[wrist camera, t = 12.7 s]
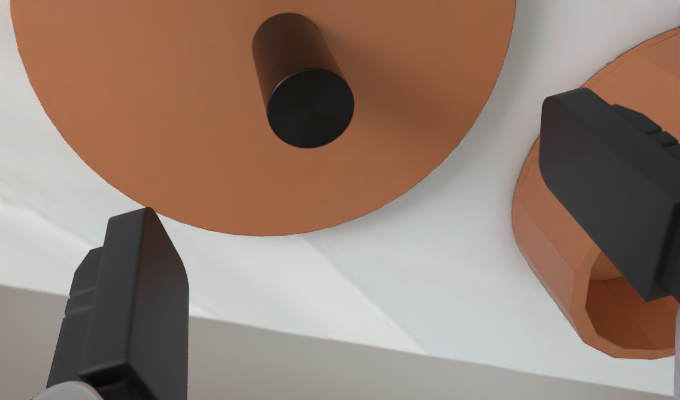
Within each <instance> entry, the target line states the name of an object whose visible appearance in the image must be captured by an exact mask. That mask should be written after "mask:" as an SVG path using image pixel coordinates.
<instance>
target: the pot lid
mask: <svg viewBox="0 0 680 400" xmlns="http://www.w3.org/2000/svg"><path fill="white" fill-rule="evenodd" d="M515 8H516V0H10V12H11V19H12V23H13V28H14V32H15V37H16V42H17V46H18V51H19V54H20V56H21V59H22V62H23V64H24V67H25V70H26V73H27V75H28V78H29V81H30V84H31V86H32V87H33V89H34V91H35V93H36V95H37V97H38V99H39V101H40V103H41V105H42V106H43V108H44V110H45V112H46V114H47V115H48V117H49V118H50V120H51V121H52V123H53V124H54V125H55V127H56V128H57V130H58V131H59V133H60V134H61V135H62V137H63V138H64V140H65V141H66V142H67V143H68V144H69V145H70V147H71V148H72V149H73V150H74V151H75V152H76V153H77V154H78V155H79V156H80V158H81V159H82V160H83V161H84V162H85V163H86V164H87V165H88V166H89V167H90V168H92V169H93V170H94V171H95V172H96V173H97V174H98V175H100V176H101V177H102V178H103V179H104V180H105V181H106V182H108V183H109V184H110V185H112V186H113V187H115V188H116V189H118V190H119V191H120V192H122V193H123V194H125V195H126V196H128V197H129V198H131V199H132V200H134V201H136V202H138V203H140V204H141V205H143V206H145V207H151V208H152V209H153V210H154V211H155V212H156V213H159V214H161V215H164V216H166V217H169V218H171V219H174V220H176V221H179V222H181V223H184V224H188V225H191V226H195V227H198V228H202V229H206V230H210V231H215V232H221V233H227V234H233V235H246V236H285V235H292V234H300V233H307V232H313V231H317V230H321V229H325V228H329V227H333V226H337V225H339V224H342V223H345V222H348V221H351V220H354V219H357V218H359V217H361V216H364V215H366V214H368V213H370V212H372V211H374V210H377V209H379V208H381V207H382V206H384V205H386V204H388V203H389V202H391V201H393V200H394V199H396V198H398V197H399V196H401V195H403V194H404V193H405V192H407V191H408V190H410V189H411V188H412V187H414V186H415V185H416V184H418V183H419V182H421V181H422V180H423V179H424V178H425V177H426V176H428V175H429V174H430V173H431V172H432V171H433V170H434V169H435V168H436V167H438V166H439V165H440V164H441V163H442V162H443V161H444V160H445V159H446V158H447V156H448V155H449V154H450V153H451V152H452V151H453V150H454V149H455V148H456V146H457V145H458V144H459V143H460V142H461V140H462V139H463V138H464V136H465V135H466V134H467V132H468V131H469V130H470V128H471V127H472V125H473V124H474V123H475V121H476V119H477V118H478V116H479V114H480V113H481V111H482V109H483V107H484V106H485V104H486V102H487V101H488V99H489V97H490V95H491V92H492V90H493V88H494V86H495V83H496V81H497V79H498V77H499V74H500V72H501V69H502V66H503V63H504V59H505V56H506V53H507V50H508V47H509V43H510V38H511V33H512V28H513V23H514V18H515Z"/></svg>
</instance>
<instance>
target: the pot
mask: <svg viewBox="0 0 680 400" xmlns="http://www.w3.org/2000/svg"><path fill="white" fill-rule="evenodd" d="M582 87H586V88H589V89H590V90H592V91H593V92H594V93H596V94H597V95H598V96H599V97H601V98H602V99H603V100H605V101H606V102H607V103H608V104H610V105H614V104H618V105H621V106H624V107H626V108H629V109H632V110H635V111H637V112H640V113H643V114H644V115H645V116H647V117H648V118H649V119H651V120H652V121H653V122H655V123H656V124H657V125H659V126H660V127H662V130H663V132H664V131H667V132H668V133H670V134H671V135H672V136H674V137H675V138H676V139H678V142H679V144H680V27H678V28H675V29H672V30H669V31H666V32H664V33H662V34H660V35H658V36H656V37H654V38H651V39H649V40H647V41H645V42H643V43H641V44H640V45H638V46H636V47H635V48H633V49H631V50H630V51H628V52H626V53H624V54H623V55H621V56H620V57H618V58H617V59H616V60H614V61H613V62H611V63H610V64H609V65H607V66H606V67H604V68H603V69H602V70H600V71H599V72H598V73H597V74H596V75H594V76H593V77H592V78H591V79H590V80H589V81H588V82H586V83H585V84H584V85H583V86H582ZM582 87H581V88H582ZM539 145H540V136H539V138H538V140H537V141H536V143H535V144H534V146H533V148H532V150H531V152H530V154H529V155H528V157H527V159H526V161H525V163H524V166H523V168H522V171H521V173H520V176H519V179H518V181H517V185H516V189H515V193H514V197H513V206H512V226H513V232H514V236H515V240H516V243H517V245H518V247H519V249H520V251H521V253H522V255H523V256H524V257H525V259H526V261H527V262H528V264H529V266H530V268H531V270H532V271H533V273H534V274H535V275H536V277H537V278H538V280H539V281H540V282H541V284H542V285H543V287H544V288H545V289H546V291H547V292H548V294H549V295H550V296H551V298H552V299H553V301H554V302H555V303H556V305H557V306H558V307H559V309H560V310H561V312H562V313H563V314H564V316H565V317H566V319H567V320H568V321H569V323H570V324H571V326H572V327H573V328H574V330H575V331H576V333H577V334H578V335H579V337H580V338H581V340H582V341H583V342H584V343H585V344H587V345H589V346H591V347H593V348H595V349H597V350H599V351H601V352H603V353H605V354H607V355H609V356H611V357H614V358H626V359H648V360H653V359H659V358H664V357H668V356H673V355H675V330H676V312H677V309H678V306H679V303H678V302H677V301H676V300H675V298H674V297H673V296H672V295H670V296H666V297H663V298H660V299H656V300H653V301H650V302H645V301H644V299H643V298H642V297H641V296H640V295H639V294H638V292H637V291H636V290H635V289H634V288H633V287H632V285H631V284H630V283H629V282H628V281H627V280H626V278H625V277H624V276H623V275H622V274H621V273H620V272H619V270H618V269H617V268H616V267H615V266H614V265H613V263H612V262H611V261H610V260H609V259H608V258H607V256H606V255H605V254H604V253H603V252H602V251H601V249H600V248H599V247H598V246H597V245H596V244H595V242H594V241H593V240H592V239H591V238H590V237H589V235H588V234H587V233H586V232H585V231H584V230H583V228H582V227H581V226H580V225H579V224H578V223H577V222H576V220H575V219H574V218H573V217H572V216H571V215H570V213H569V212H568V211H567V210H566V209H565V208H564V206H563V205H562V204H561V203H560V202H559V201H558V199H557V198H556V197H555V196H554V195H553V194H552V192H551V191H550V190H549V189H548V188H547V186H546V185H545V183H544V181H543V178H542V176H541V173H540V168H539Z"/></svg>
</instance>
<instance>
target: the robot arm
mask: <svg viewBox="0 0 680 400" xmlns="http://www.w3.org/2000/svg"><path fill="white" fill-rule="evenodd" d="M539 168H540V173H541V176H542V178H543V181H544V183H545V185H546V186H547V188H548V189H549V190H550V191H551V192H552V194H553V195H554V196H555V197H556V198H557V199H558V201H559V202H560V203H561V204H562V205H563V206H564V208H565V209H566V210H567V211H568V212H569V213H570V215H571V216H572V217H573V218H574V219H575V220H576V222H577V223H578V224H579V225H580V226H581V227H582V228H583V230H584V231H585V232H586V233H587V234H588V235H589V237H590V238H591V239H592V240H593V241H594V242H595V244H596V245H597V246H598V247H599V248H600V249H601V251H602V252H603V253H604V254H605V255H606V256H607V258H608V259H609V260H610V261H611V262H612V263H613V265H614V266H615V267H616V268H617V269H618V270H619V272H620V273H621V274H622V275H623V276H624V277H625V278H626V280H627V281H628V282H629V283H630V284H631V285H632V287H633V288H634V289H635V290H636V291H637V292H638V294H639V295H640V296H641V297H642V298H643V299H644V301H645V302H650V301H653V300H656V299H660V298H663V297H666V296H670V295H672V296H673V297H674V298H675V300H676V301H677V302H678V303H679V306H678V309H677V312H676V330H675V374H674V400H680V144H679V142H678V139H676V138H675V137H674V136H672V135H671V134H670V133H668V132H667V131H664V132H663V130H662V127H660V126H659V125H657V124H656V123H655V122H653V121H652V120H651V119H649V118H648V117H647V116H645V115H644V114H643V113H640V112H637V111H635V110H632V109H629V108H626V107H624V106H621V105H618V104H614V105H610V104H608V103H607V102H606V101H605V100H603V99H602V98H601V97H599V96H598V95H597V94H596V93H594V92H593V91H592V90H590V89H589V88H586V87H582V88H578V89H575V90H571V91H567V92H564V93H560V94H557V95H553V96H549V97H547V98H546V99H545V100H544V102H543V105H542V115H541V130H540V145H539ZM69 295H70V299H68V301H67V306H66V310H65V315H66V317H65V318H63V322H62V326H61V330H60V334H59V338H58V342H57V346H56V350H55V354H54V358H53V362H52V366H51V370H50V374H49V378H48V382H47V386H46V389H45V390H44V391H42V392H41V393H39V394H38V395H36V396H35V397H34V398H32V399H31V400H187V377H188V376H187V375H188V318H189V284H188V278H187V274H186V270H185V267H184V265H183V262H182V260H181V258H180V256H179V254H178V252H177V251H176V249H175V247H174V245H173V243H172V241H171V240H170V238H169V236H168V234H167V232H166V230H165V229H164V227H163V225H162V223H161V221H160V219H159V218H158V216H157V214H156V212H155V211H154V210H153V209H152V208H151V207H146V208H142V209H139V210H135V211H131V212H128V213H124V214H121V215H117V216H113V217H111V218H110V219H109V221H108V225H107V230H106V235H105V240H104V245H103V246H102V247H99V248H95V249H92V250H90V251H89V253H88V254H87V255H86V257H85V258H84V260H83V261H82V263H81V264H80V265H79V267H78V268H77V270H76V271H75V273H74V277H73V281H72V285H71V289H70V293H69Z"/></svg>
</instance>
